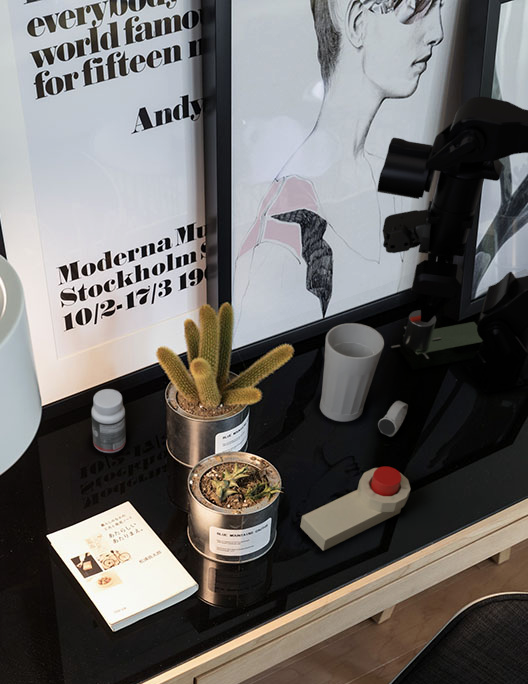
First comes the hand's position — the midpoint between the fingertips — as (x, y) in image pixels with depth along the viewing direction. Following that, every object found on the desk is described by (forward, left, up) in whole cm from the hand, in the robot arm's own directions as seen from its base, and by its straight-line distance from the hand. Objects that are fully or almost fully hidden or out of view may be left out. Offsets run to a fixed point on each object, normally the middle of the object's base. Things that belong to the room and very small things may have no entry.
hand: (427, 303), depth 139 cm
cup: (+15, +7, -11) cm, 20 cm away
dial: (0, 0, -7) cm, 7 cm away
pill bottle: (+50, +5, -11) cm, 51 cm away
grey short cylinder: (+10, +14, -11) cm, 20 cm away
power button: (+17, +27, -7) cm, 33 cm away
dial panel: (-4, 0, -10) cm, 11 cm away
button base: (+22, +29, -10) cm, 38 cm away
